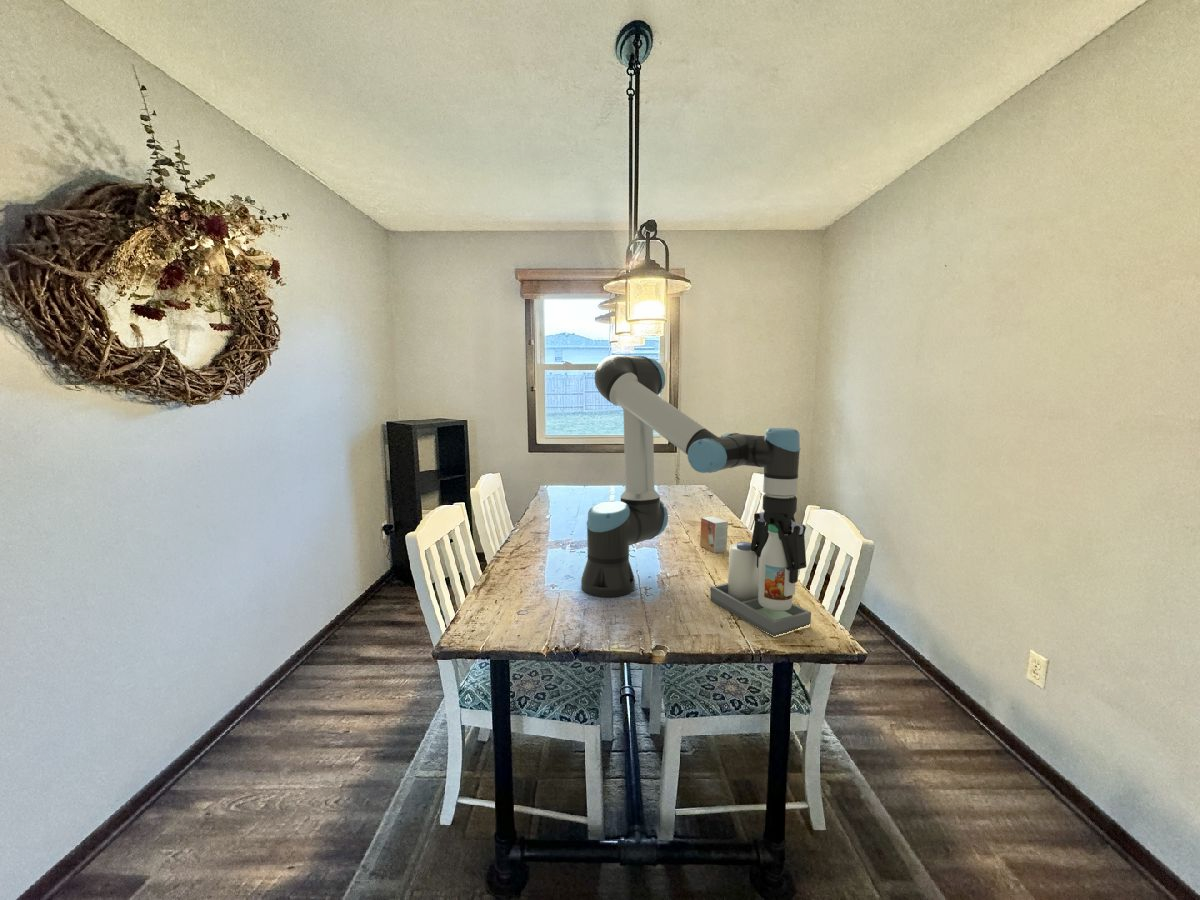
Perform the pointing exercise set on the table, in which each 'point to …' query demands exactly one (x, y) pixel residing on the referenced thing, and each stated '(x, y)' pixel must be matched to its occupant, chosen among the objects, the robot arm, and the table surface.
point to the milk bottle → (773, 574)
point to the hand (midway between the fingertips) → (775, 588)
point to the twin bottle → (742, 572)
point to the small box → (713, 534)
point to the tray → (761, 612)
